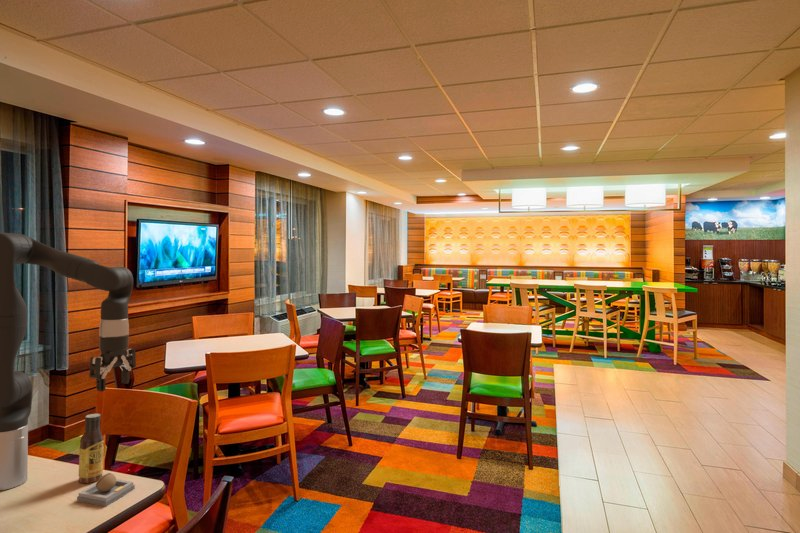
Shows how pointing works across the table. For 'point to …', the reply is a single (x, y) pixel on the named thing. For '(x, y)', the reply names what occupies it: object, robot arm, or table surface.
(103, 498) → the grey square tray
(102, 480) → the door knob
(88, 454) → the sauce bottle
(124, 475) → the table surface
